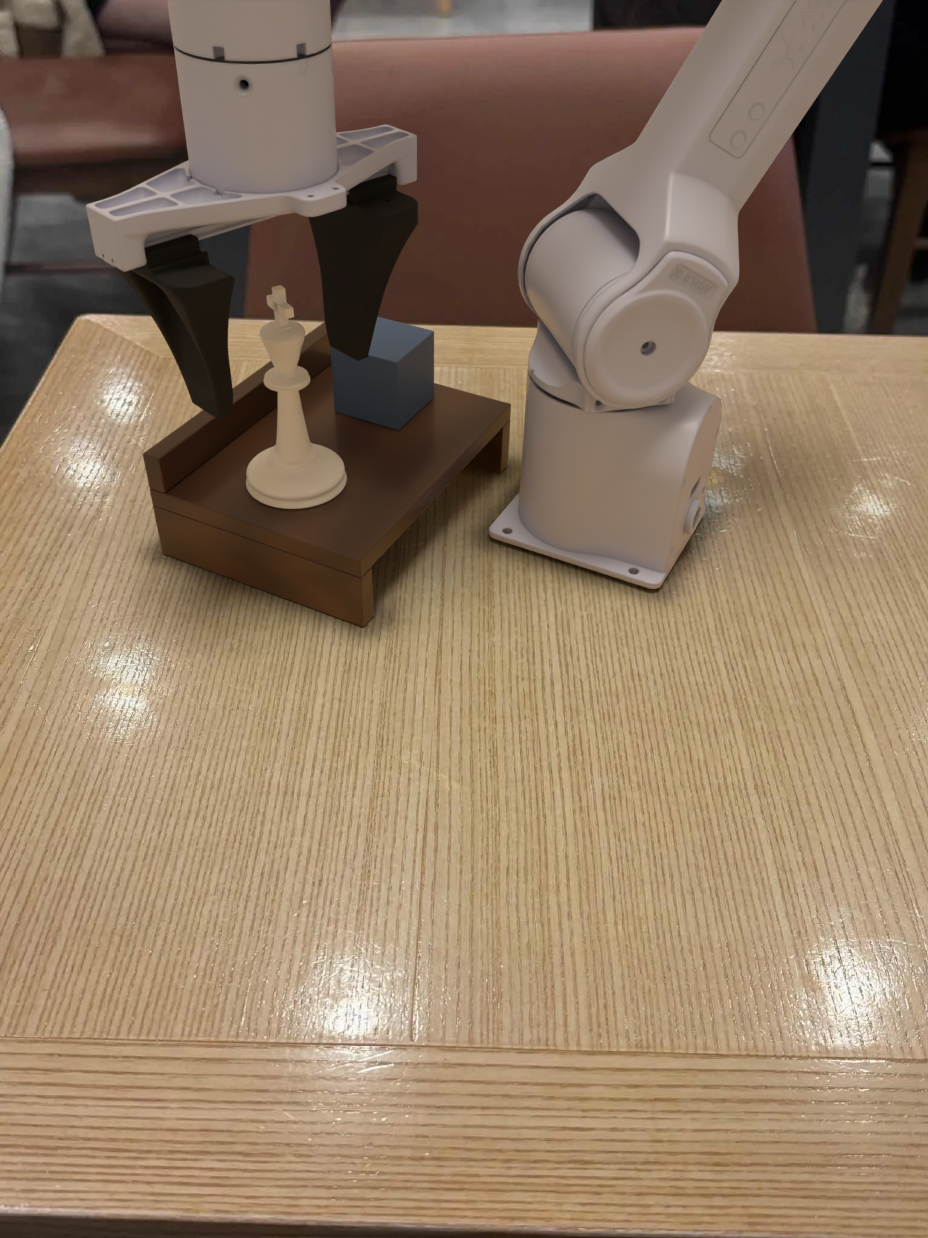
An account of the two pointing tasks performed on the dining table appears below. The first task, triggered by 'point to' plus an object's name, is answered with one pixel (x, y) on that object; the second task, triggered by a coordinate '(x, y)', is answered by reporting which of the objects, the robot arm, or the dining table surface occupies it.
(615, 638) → the dining table surface
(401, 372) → the blue box
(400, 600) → the dining table surface
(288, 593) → the shelf
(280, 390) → the chess piece
